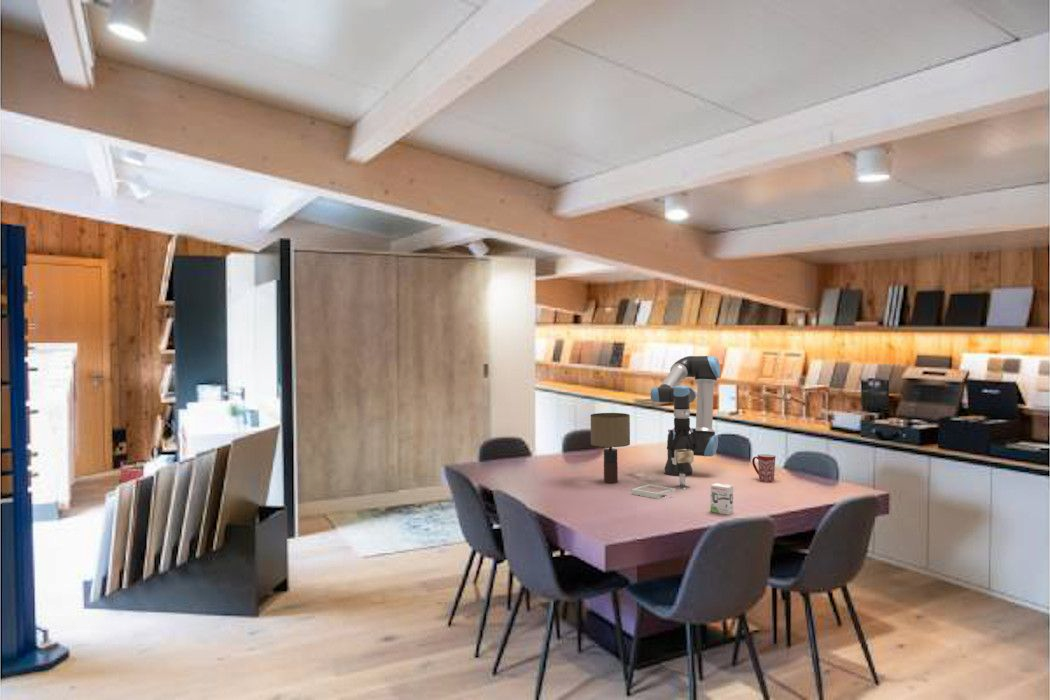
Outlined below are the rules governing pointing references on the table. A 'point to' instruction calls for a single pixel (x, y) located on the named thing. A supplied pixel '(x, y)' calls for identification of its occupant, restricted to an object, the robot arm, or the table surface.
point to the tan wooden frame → (684, 456)
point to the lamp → (610, 439)
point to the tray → (651, 494)
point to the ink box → (722, 498)
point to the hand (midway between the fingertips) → (682, 463)
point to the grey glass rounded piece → (682, 482)
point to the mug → (765, 467)
